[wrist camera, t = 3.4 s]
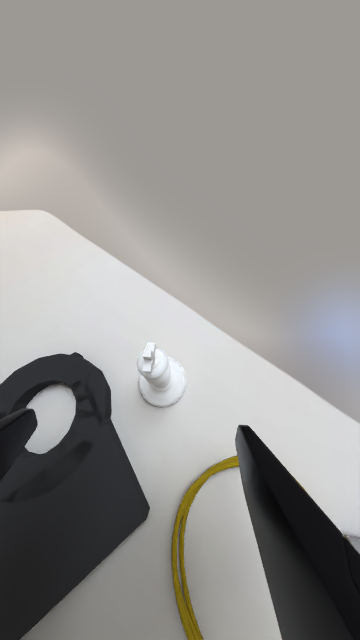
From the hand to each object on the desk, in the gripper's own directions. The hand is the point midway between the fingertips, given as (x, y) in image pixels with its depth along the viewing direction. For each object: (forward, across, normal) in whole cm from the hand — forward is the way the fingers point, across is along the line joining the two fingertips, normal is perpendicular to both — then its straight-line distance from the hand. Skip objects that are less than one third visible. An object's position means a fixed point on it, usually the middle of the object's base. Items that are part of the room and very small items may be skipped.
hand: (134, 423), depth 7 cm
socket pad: (+4, +9, +10) cm, 14 cm away
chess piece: (+10, 0, +5) cm, 11 cm away
